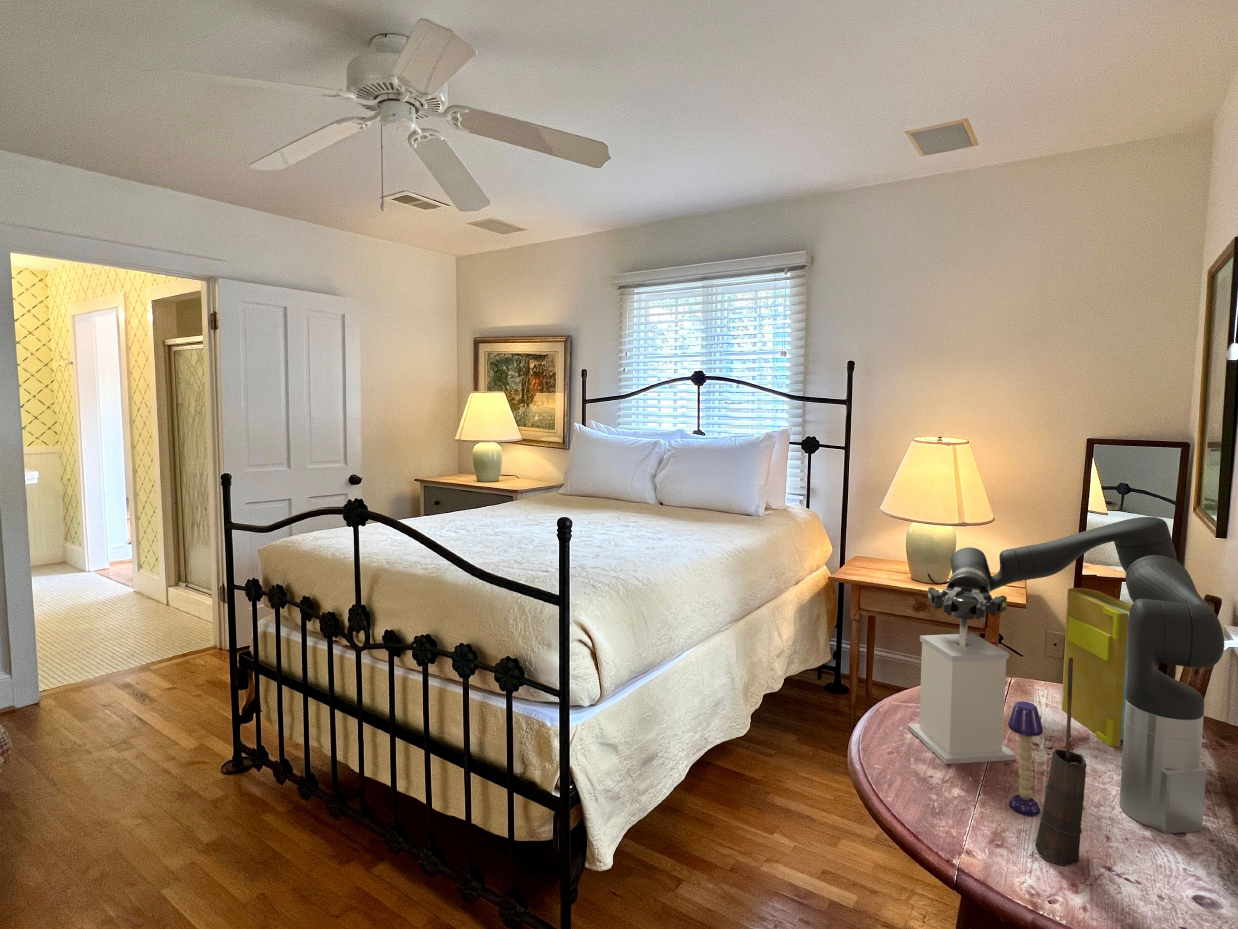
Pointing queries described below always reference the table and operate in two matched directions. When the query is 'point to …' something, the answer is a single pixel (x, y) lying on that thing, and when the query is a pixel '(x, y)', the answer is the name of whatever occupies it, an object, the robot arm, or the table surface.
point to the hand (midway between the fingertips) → (963, 611)
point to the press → (962, 699)
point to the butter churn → (1063, 800)
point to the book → (1097, 662)
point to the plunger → (964, 615)
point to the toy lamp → (1025, 755)
